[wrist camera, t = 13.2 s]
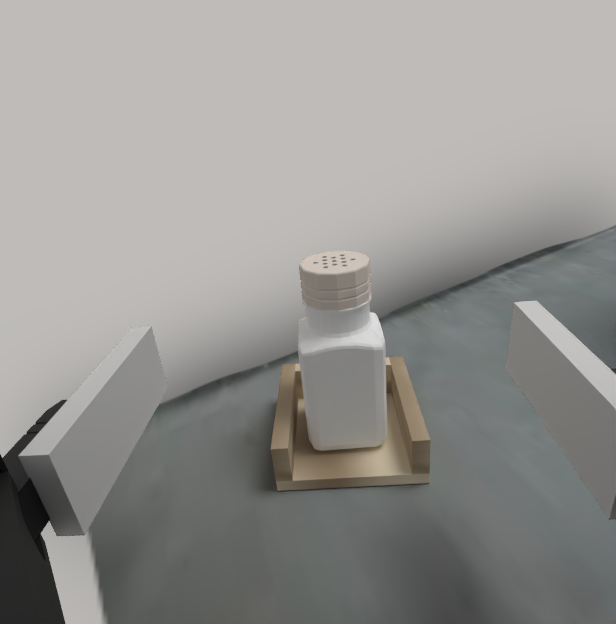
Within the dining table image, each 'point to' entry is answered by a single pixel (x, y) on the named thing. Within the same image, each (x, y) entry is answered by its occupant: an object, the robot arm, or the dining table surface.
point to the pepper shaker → (341, 353)
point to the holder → (356, 461)
